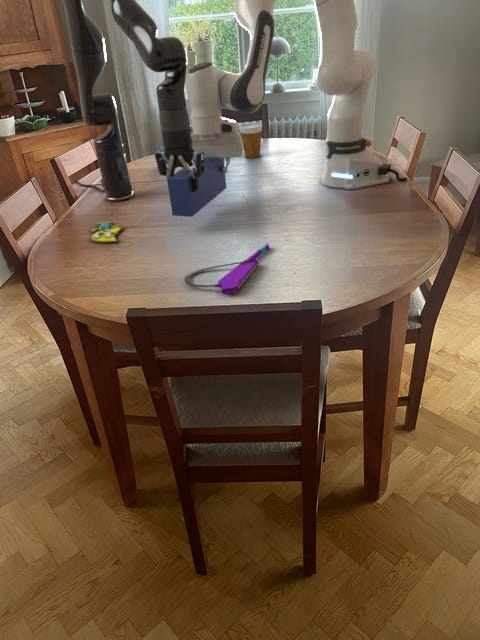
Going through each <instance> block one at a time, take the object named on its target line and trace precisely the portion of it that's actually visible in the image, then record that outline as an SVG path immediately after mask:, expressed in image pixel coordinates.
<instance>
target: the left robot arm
mask: <svg viewBox="0 0 480 640" xmlns="http://www.w3.org/2000/svg"><path fill="white" fill-rule="evenodd" d="M62 4H63V8H64V13H65V18H66V23H67V28H68V35H69V42H70V43H69V44H70V48H71V55H72V59H73V63H74V68H75V74H76V78H77V85H78V95H79V103H80V111H81V117H82V119H83V122H84V123H85V125H86V126H87V127H89V128H97V127H103V126H108V128H107V129H106V130H105V131H104V132H103V133H102V134H100V135H98V136H97V137H96V138H94V139H93V146H94V149H95V154H96V158H97V159H96V160H97V162H98V167H99V171H100V176H101V179H100V183H101V187H102V188H103V189H101V188H99V187H98V186H97V185H91V184H84V183H80V181H79V180H78V179H75V180H74V184H77V185H78V186H80V187H86V188H93V189H96V190H97V191H99V192H101V193H104V194H105V198H106V200H107V201H109V202H121V201H125V200H128V199H131V198H132V197H134V191H133V186H132V182H131V178H130V173H129V168H128V163H127V158H126V153H125V148H124V143H123V138H122V133H121V130H120V123H119V116H118V109H117V104H116V101H115V98H114V96H113V95H112V94H111V93H110V92H108V93H106V92H105V93H99V94H93V91H94V88H95V85H96V83H97V81H98V80H99V78H100V76H101V75H102V72H103V71H104V69H105V66H106V63H107V52H106V44H105V43H106V42H105V38H104V34H103V32H102V30H101V29H100V27H99V26H98V24H97V23H96V22H95V21H94V20H93V19H92V17H91V16H90V15H89V14H88V13H87V12H86V9H85V8H84V4H83V1H82V0H62ZM109 6H110V11H111V14H112V18H113V20H114V22H115V23H116V25H117V26H118V28H119V29H120V30H121V31H122V32H123V33H124V34H125V35H126V36H127V38H129V39H130V41H131V42H132V43H133V44H134V47H135V49H136V50H137V53H138V55H139V56H140V58H141V60H142V62H143V63H144V65H145V66H146V67H147V68H148V69H150V70H151V71H153V73H154V72H155V73H164V80H163V81H162V82H160V83H159V84H158V85H157V86H156V89H155V90H156V91H155V93H156V94H155V95H156V99H157V106H158V112H159V113H158V115H159V117H158V119H159V125H160V126H159V127H160V132H161V139H162V145H163V148H164V149H165V151H164V152H162V151H161V150H159V151H160V152H158V153H157V152H155V154H154V158H155V161H156V165H157V169H158V173H159V175H160V176H164V177H166V179H167V178H168V177H170V176H172V175H173V174H175V173H176V169H177V168H181V169H183V168H185V170H186V171H187V172H188V173H189V175H190V176H191V178H192V179H191V185H192V192H196V191H198V189H199V181H198V177H200V176H201V175H203V174H204V152H200V153H198V152H194V150H193V148H192V139H191V131H190V127H191V121H190V116H189V112H188V108H187V100H186V99H187V98H186V93H185V85H186V79H187V68H188V67H187V65H188V55H187V50H186V48H185V45H184V43H183V42H182V40H181V39H180V38H178V37H177V36H167V37H165V36H164V37H157V35H158V26H157V24H156V22H155V20H154V18H152V17H151V16H150V15H149V13H147V11H145V9H144V8H143V7H142V6H141V5H140V4H139V3H138V2H137V1H136V0H109ZM165 157H166V158H167V160H168V161H167V162H168V163H166V161H165ZM193 157H194V158H195V161H196V166H197V170H196V168H195V164H194V163H193V161H192V159H193ZM189 165H190V166H189Z"/></svg>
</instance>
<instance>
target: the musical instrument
mask: <svg viewBox="0 0 480 640" xmlns="http://www.w3.org/2000/svg"><path fill="white" fill-rule="evenodd" d="M269 250H270V244H269V243H266V244H265V245H263V246H261V247H260V248H259V249H257V250H256V252H254V253H253V254H251V255H250V256H248V258H246V259H244V260H243V261H237V262H231V263H225V264H221V265H216V266H210V267H205V268H201V269H199V270H197V271H194V272H192V273H190V274H189V275H186V276H185V278H184V282H185V284H187V285H189V286H191V287H195V288H214V287H215V288H220V291H221V294H222V295H225V294H231V293H235V292H238V291H239V289H240V287H242V285H243V284H244V282H245V281H246V280H247V278H248V277H250V275H251V274H252V272H253V271H254V270H255V269H256V267H257V266H258V265H259V264H260V261H259V260H258V259H257V258H258V257H260V256H261V255H263V254H264V253H265V252H266V251H269ZM234 265H237V266H235V267H234V268H233V269H231V270H230V271H228V273H226V275H224V276H223V277H221V278H220V279H219V280H218V281H217V284H195V283H191V282H190V281H189V278H190V277H192V276H194V275H195V274H198V273H200V272H203V271H206V270H211V269H216V268H221V267H222V268H223V267H226V266H227V267H228V266H234Z"/></svg>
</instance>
